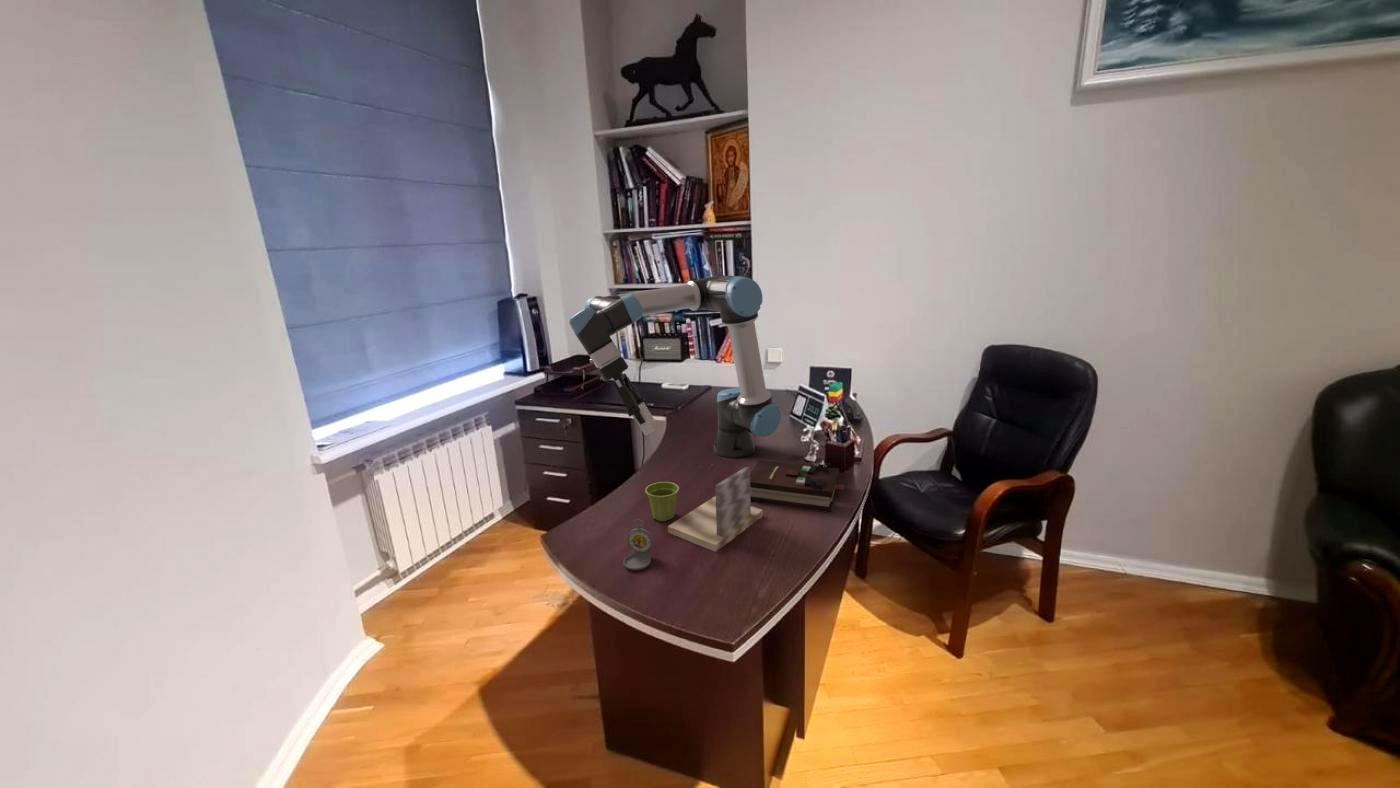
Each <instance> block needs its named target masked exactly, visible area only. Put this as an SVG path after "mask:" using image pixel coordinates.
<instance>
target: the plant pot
mask: <svg viewBox="0 0 1400 788" xmlns="http://www.w3.org/2000/svg"><path fill="white" fill-rule="evenodd" d="M679 491H680V487H679V485H678V484H676V483H674V482H670V481H657V482H655V483H652V484H649V485H647V486H646V487H645V491H644V492H645V494H646V495H647V497H648V501H649V504H650V508H651V513H652V514H651V515H652V518H653V519H655V520H656V521H657V520H658V522H668V521H669V520H672V518H673V517H675V513H676V503H677V495H678V492H679ZM673 519H674V518H673ZM667 520H668V521H667Z"/></svg>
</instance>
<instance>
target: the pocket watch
mask: <svg viewBox="0 0 1400 788" xmlns="http://www.w3.org/2000/svg"><path fill="white" fill-rule="evenodd" d="M637 521H641V522H642V524H640V522H638V523H637V524H636V522H637ZM633 524H634V525H635V526H636V528H634V529H631V530H630V532H628V534H627V537H626V542H627V546H628V548H630V550H632V551H633V552H635V553H630V554H628V555H627V556H626V557H624V559H623V563H622V564H623V567H625V568H626V569H627V570H631V571H639V570H644V569H645V568H647V567H649V566H650V564H651V562H652V558H651V556H650V554H647V553H648V552H650V551H651V550H652V548H653V546H654V537H653V536H652V534H651V533H650V531H648V530H647V529H644V528H641V527H642V526H643V525H645V522H644V520H643V519H641V518H640V519H639V518H637V519H635V520H634V521H633Z"/></svg>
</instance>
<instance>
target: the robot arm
mask: <svg viewBox="0 0 1400 788" xmlns="http://www.w3.org/2000/svg"><path fill="white" fill-rule="evenodd" d="M762 304H763V292H762V290H761V287H760V285H759V284H758V283H757V282H756V281H755V279H752V278H750V277H748V276H747V277H745V276H743V275H725V274H724V275H723V274H722V275H720V274H719V275H712V276H708V277H703V278H699V279H695V280H694V279H692V280H689V281H687V282H686V283H685V284H682V285H681V284H680V285H676V286H669V287H662V288H655V289H647V290H642V291H634V292H633V291H632V292H627V293H620V294H616V295H608V296H601V295H596V296H592V297H590V298H589V299H588V300H587V301H586V303H585V308H584V309H582V310H580V311H579V312H577V313H575V314H574V315H573V316H571V317H570V318H569V321H568V322H569V325H570V327H571V329H572V331H573V333H574V334H575V337H577V339H578V340H579V342H580V344H581V345H582V347H583V348H584V350H585V351H586V353H587V355H588V356H589V357H590V359H589V362H590V363H591V364H592V363H593V364H594V366H595V367H596V369H599V370H598V373H599V374H600V376H601V378H602V379H603V380H604V381H605V382H608V381H610V380H612V379H613V382H612V383H613V384H612V385H613V386H614V387H615V390H617V392H618V394H619V396H620V397H621V400H622V402H623V403H624V405H625V407H626V410H627V411H628V413H627V415H628V417H632V418H633V419H634V421H635V422H636V423H637V426H638V427H639V429H640V430H641V431H642V434H643V435H644V436H648V435H650V434H651V433H653V432H655V429H654V428H653V426H652V425H651V424H653V423H655V422H656V419H655V418H654V417H653V415H652V414H651V412H650V410H649V409H648V407H647V406H646V404H645V401H646V398H645V397H644V396H643V397H642V395H640V393H639V392H638V390H637V389H636V387H635V385H633V383H632V382H631V379H630V378H629V377H628V376H627V374H626V373H625V371H626V370H627V369H629V366H628V363H627V362H626V360H625V359H624V357H622V356H621V352H620V350H619V349H618V347H617V346H616V344H615V342H614V340H613V339H612V338H611V336H613V335H615V334H616V333H618V332H620V331H622V330H624V329H625V328H627V327H628V326H631V325H632V324H635V322H637V321H638V320H640V319H641V318H642V317H645V316H650V315H658V314H663V313H669V312H676V311H681V310H688V309H689V310H691V311H694V312H695V311H699V310H702V311H704V310H705V311H714V312H719V313H720V314H719V315H720V318H721V319H720V320H721V323H722V324H723V325H724V326H726V327H727V330H728V336H729V339H730V340H729V341H730V346H731V352H732V356H733V362H734V367H735V372H736V379H737V383H738V387H732V388H725V389H723V390H720V391H719V392H718V393H717V396H716V397H717V398H716V404H717V405H716V406H717V407H716V408H717V411H716V412H717V433H716V436H715V440H714V442H713V452H714V453H715V454H716V455H719V456H721V457H725V458H742V457H743V458H744V457H747V456H750V455H752V454H753V453H754V452H755V451H756V443H755V441H754V438H753V435H755V436H759V437H763V438H764V437H768V436H771V435H773V433H775V432H776V430H777V429H778V427H779V426H780V424H781V421H782V411H781V408H780V407H779V406H778V405H777V404H776V403H775V404H774V402H773V397H772V392H771V391H769V390H767V388H766V382H765V377H764V370H763V365H762V360H761V354H760V353H761V352H760V346H759V342H758V336H757V329H756V325H755V324H756V323H755V321H756V320H757V319H758V317H759V311H760V309H761V305H762Z"/></svg>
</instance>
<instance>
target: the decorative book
mask: <svg viewBox="0 0 1400 788" xmlns="http://www.w3.org/2000/svg"><path fill="white" fill-rule="evenodd" d="M831 465H832V463H830V462H829V463H828V462H825V464H821V463H819V464H818V465H814V464H813V465H811V464H800V463H792V462H786V461H785V462H784V461H777V460H776V461H774V460H765V459H759V460H758V461H757V462H756V464H755V465H754V467H753V468H752V470H750V498H751V502H752V503H757V502H758V504H765V503H766V504H767V505H772V504H773V505H772V506H779V505H780V506H782V507H786V506H788V508H793V507H795V509H801V508H802V509H803V510H808V509H809V510H808V511H815V510H817V511H816V512H822V511H826V512H825V513H829V512H831V513H832V511H833V508H834V505H833V504H834V503H835V502H836V501H835V500H836V498H837V495H838V490H842V491H844V490H845V487H846V484H841V483H840V481H839V480H840V468H839V467H830V466H831ZM766 504H765V505H766ZM780 506H779V507H780ZM832 507H833V508H832ZM802 509H801V510H802Z"/></svg>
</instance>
